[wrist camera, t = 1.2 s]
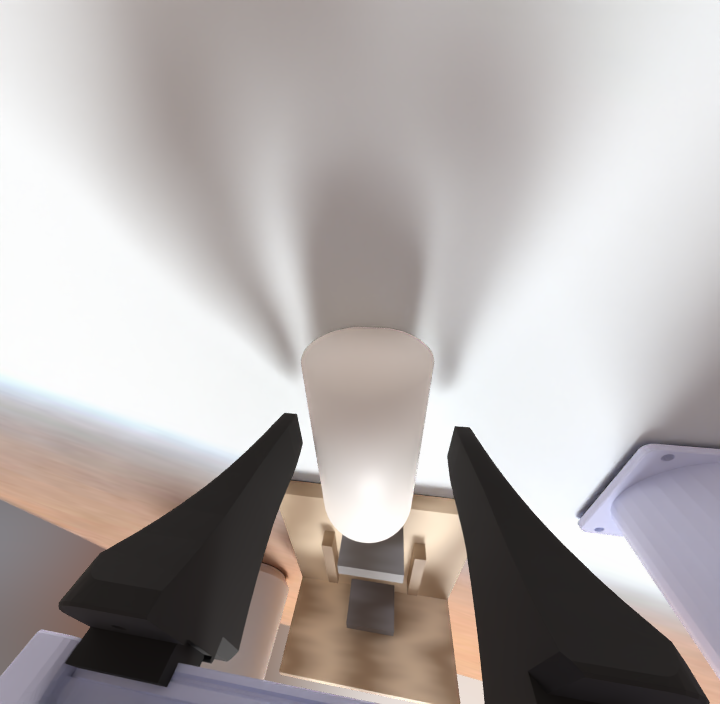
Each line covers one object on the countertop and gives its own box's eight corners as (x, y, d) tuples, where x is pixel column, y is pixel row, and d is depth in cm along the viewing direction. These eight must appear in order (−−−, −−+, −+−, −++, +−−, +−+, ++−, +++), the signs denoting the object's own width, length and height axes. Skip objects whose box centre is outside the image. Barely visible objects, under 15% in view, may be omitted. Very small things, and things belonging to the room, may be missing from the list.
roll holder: (480, 501, 17) (525, 666, 11) (443, 590, 25) (457, 711, 19) (279, 479, 19) (224, 611, 13) (307, 569, 27) (281, 674, 21)
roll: (435, 332, 11) (432, 410, 7) (415, 464, 15) (406, 556, 12) (329, 321, 12) (274, 383, 8) (340, 448, 17) (309, 526, 13)
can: (215, 556, 28) (113, 757, 18) (273, 557, 26) (195, 782, 16) (249, 583, 32) (179, 765, 22) (302, 586, 30) (252, 787, 20)
